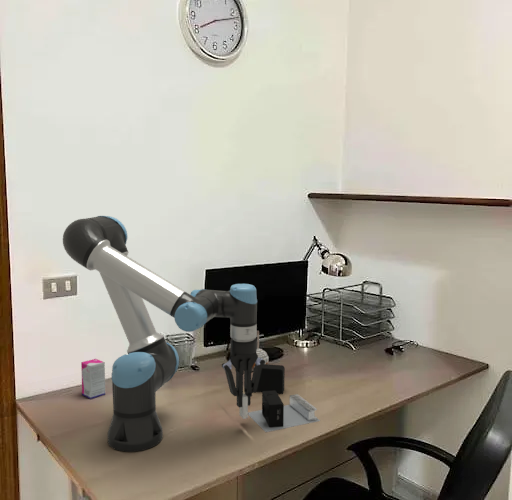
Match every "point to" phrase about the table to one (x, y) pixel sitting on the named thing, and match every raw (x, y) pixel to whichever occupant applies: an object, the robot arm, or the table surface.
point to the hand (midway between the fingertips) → (243, 416)
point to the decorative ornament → (261, 352)
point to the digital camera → (272, 408)
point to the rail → (303, 407)
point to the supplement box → (93, 378)
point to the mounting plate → (289, 419)
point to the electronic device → (271, 378)
